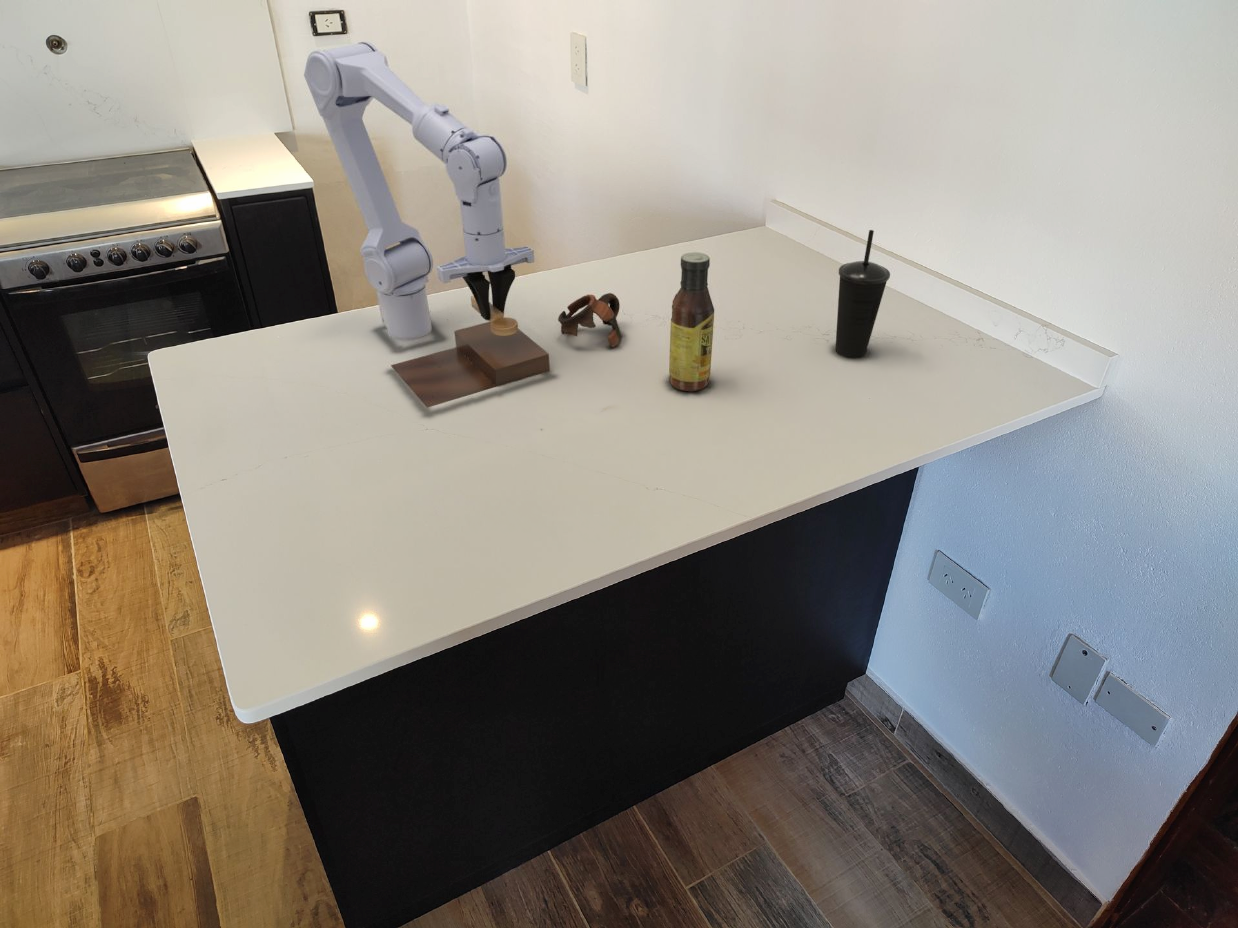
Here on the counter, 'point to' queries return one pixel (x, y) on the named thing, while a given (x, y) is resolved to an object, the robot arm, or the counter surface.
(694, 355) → the sauce bottle
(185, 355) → the counter surface
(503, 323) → the spoon
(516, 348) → the step shelf
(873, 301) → the drinking cup
